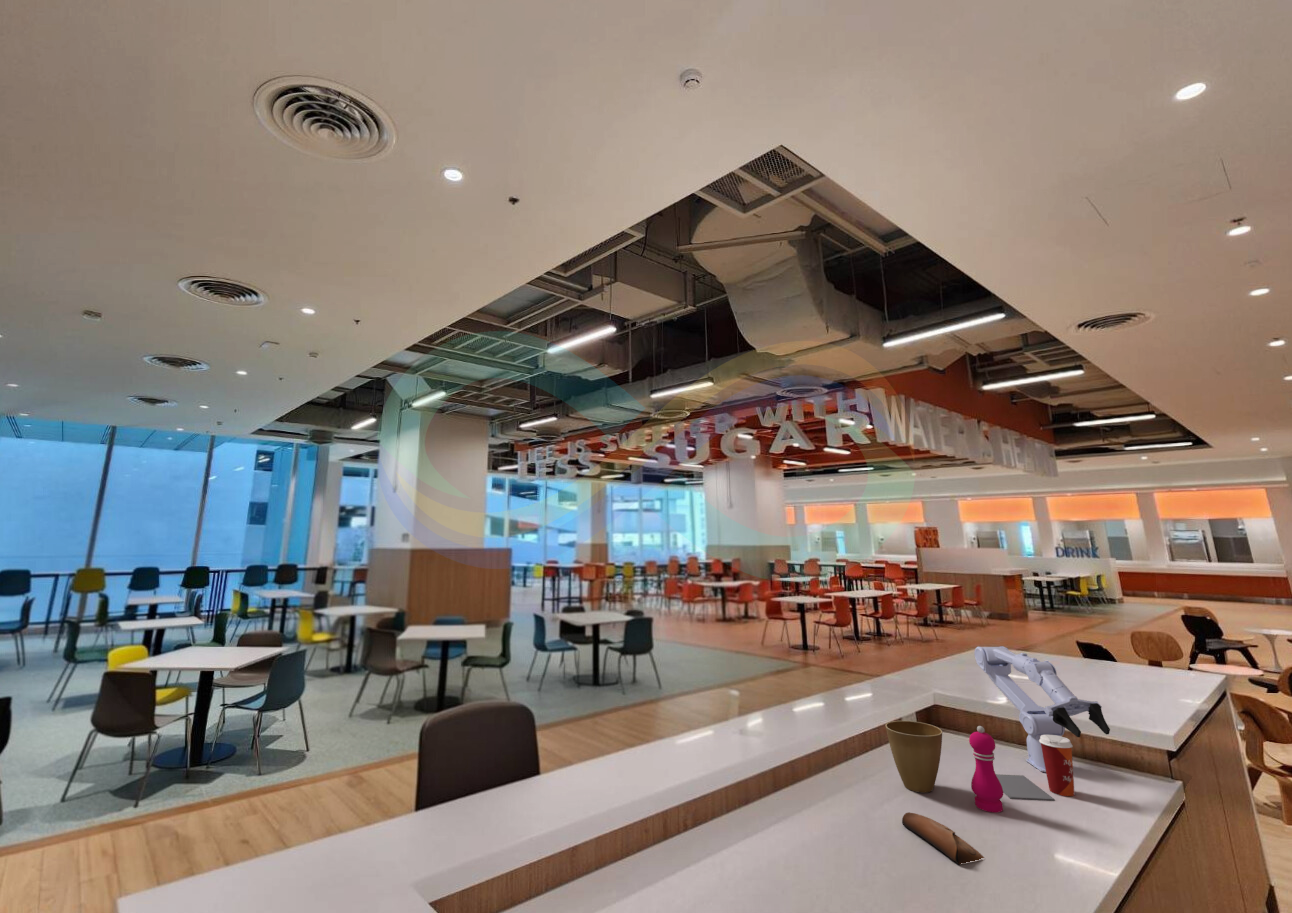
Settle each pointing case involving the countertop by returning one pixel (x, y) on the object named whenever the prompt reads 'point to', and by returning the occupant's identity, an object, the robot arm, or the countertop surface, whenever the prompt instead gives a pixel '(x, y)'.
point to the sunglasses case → (941, 838)
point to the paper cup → (1058, 764)
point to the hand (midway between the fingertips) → (1093, 733)
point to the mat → (1021, 788)
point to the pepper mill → (985, 773)
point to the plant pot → (915, 753)
